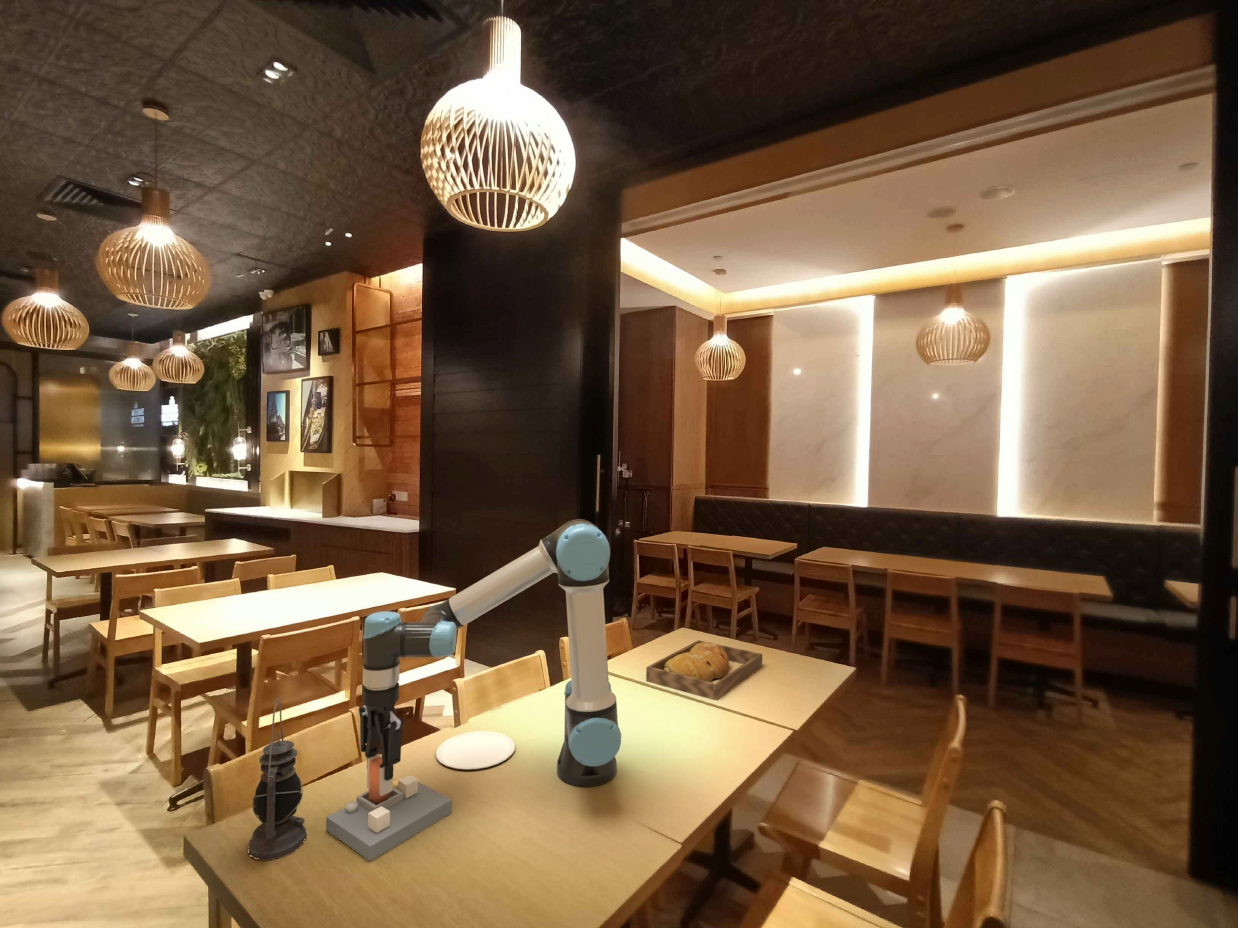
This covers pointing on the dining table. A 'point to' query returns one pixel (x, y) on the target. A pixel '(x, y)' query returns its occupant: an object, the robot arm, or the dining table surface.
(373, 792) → the cap
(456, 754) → the plate
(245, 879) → the dining table surface
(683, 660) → the bread
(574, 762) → the robot arm
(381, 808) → the toggle
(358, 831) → the grey flat block
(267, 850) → the lantern
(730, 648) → the bread tray
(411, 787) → the toggle
